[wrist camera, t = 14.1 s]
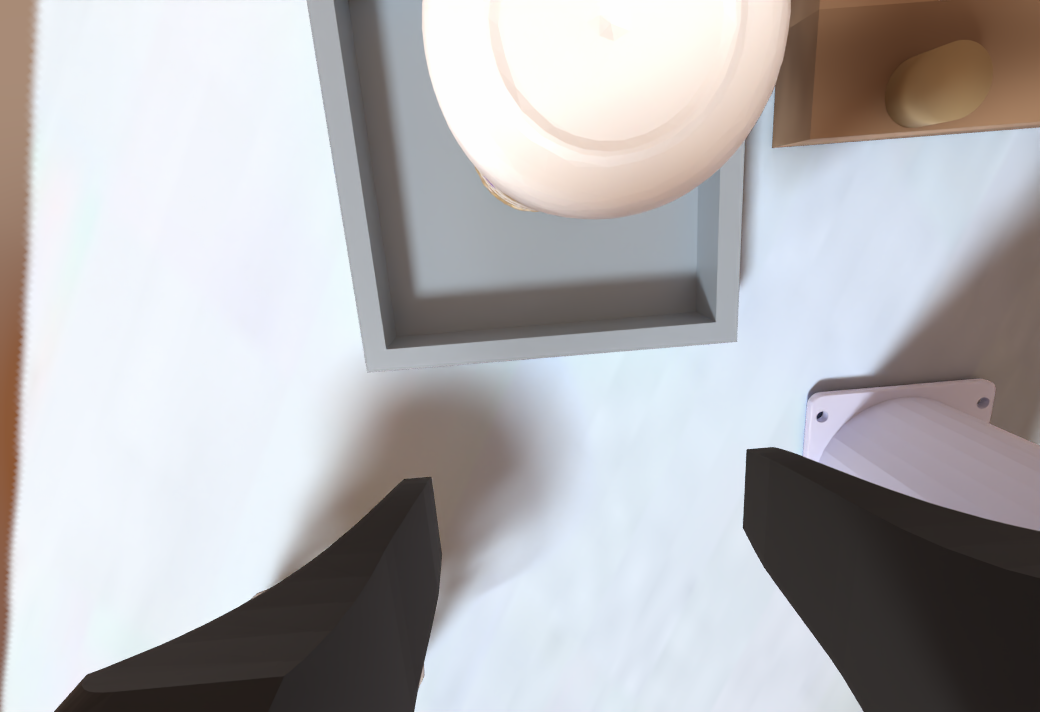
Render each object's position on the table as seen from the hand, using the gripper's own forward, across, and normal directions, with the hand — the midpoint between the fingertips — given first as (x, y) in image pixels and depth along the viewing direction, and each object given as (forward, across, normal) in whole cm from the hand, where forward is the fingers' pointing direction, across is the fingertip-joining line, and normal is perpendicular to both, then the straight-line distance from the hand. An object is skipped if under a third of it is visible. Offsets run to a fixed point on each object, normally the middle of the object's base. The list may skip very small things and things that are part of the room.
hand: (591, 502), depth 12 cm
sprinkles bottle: (+10, 0, -9) cm, 13 cm away
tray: (+10, 0, -8) cm, 13 cm away
